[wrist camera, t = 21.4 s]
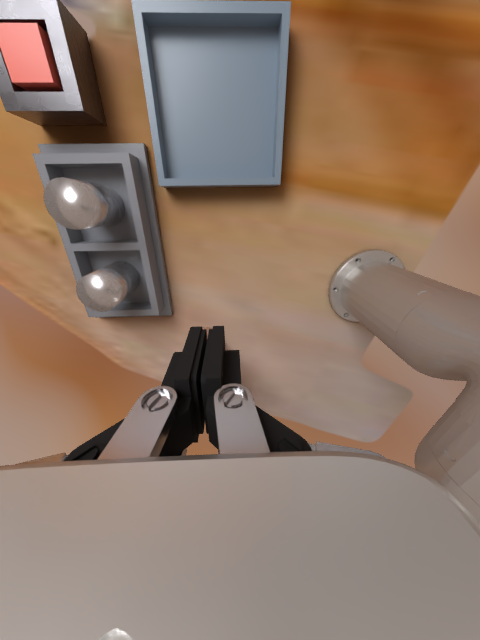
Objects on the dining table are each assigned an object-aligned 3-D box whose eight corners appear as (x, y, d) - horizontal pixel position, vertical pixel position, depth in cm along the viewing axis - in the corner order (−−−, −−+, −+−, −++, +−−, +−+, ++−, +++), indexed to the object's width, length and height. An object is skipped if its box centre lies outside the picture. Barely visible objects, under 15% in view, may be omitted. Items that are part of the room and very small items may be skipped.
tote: (284, 23, 25) (290, 1, 22) (276, 186, 32) (280, 184, 29) (142, 22, 25) (131, -1, 22) (165, 187, 32) (159, 185, 29)
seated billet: (136, 260, 35) (111, 274, 28) (142, 291, 37) (121, 311, 30) (103, 261, 35) (70, 275, 28) (111, 292, 37) (83, 312, 30)
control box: (86, 32, 25) (54, -6, 20) (106, 125, 29) (83, 110, 24) (11, 32, 25) (-37, -7, 20) (41, 126, 28) (5, 110, 24)
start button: (58, 44, 23) (36, 22, 21) (72, 95, 25) (53, 82, 23) (19, 43, 23) (-9, 22, 21) (35, 95, 25) (12, 82, 22)
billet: (121, 186, 31) (87, 178, 23) (127, 226, 33) (98, 230, 26) (83, 183, 30) (36, 175, 23) (91, 224, 32) (51, 228, 25)
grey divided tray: (146, 145, 30) (134, 136, 26) (172, 313, 40) (167, 323, 37) (43, 145, 29) (17, 137, 26) (98, 314, 40) (85, 325, 36)
